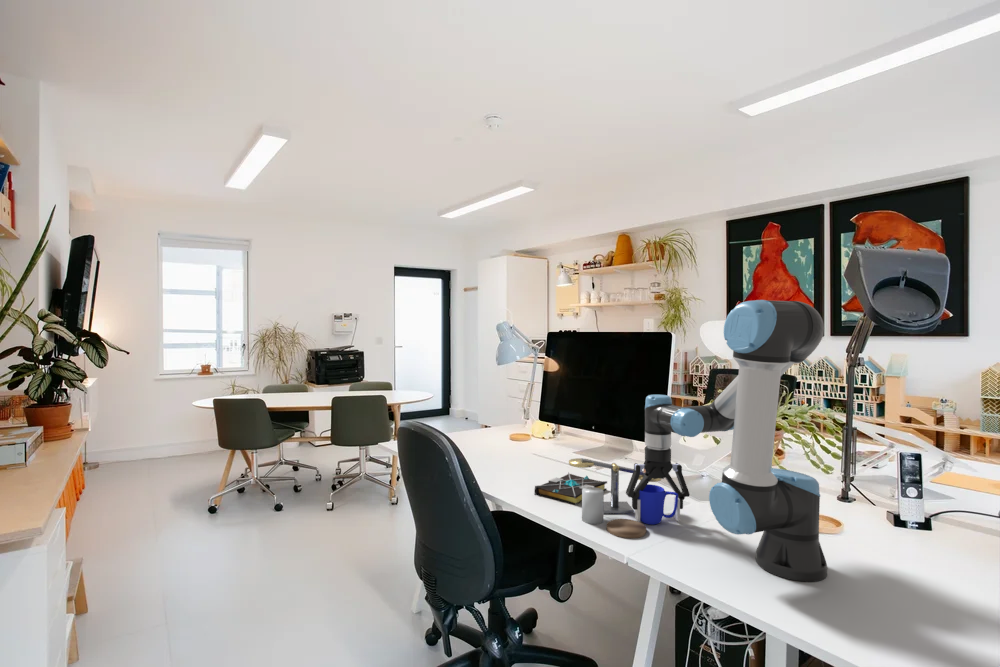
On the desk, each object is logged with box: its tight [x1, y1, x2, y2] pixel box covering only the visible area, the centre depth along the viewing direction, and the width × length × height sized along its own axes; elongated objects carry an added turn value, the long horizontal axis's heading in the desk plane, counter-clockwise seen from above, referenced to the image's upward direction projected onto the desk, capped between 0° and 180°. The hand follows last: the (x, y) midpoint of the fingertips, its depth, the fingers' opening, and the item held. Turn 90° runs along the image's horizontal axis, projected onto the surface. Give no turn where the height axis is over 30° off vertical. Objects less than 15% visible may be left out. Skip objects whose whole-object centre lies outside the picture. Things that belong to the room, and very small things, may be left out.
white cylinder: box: [581, 487, 605, 525], centre depth 155 cm, size 6×6×9 cm
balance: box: [568, 457, 662, 515], centre depth 164 cm, size 8×30×16 cm, turn 92°
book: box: [533, 471, 608, 506], centre depth 181 cm, size 22×17×5 cm
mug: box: [638, 483, 678, 526], centre depth 153 cm, size 8×12×10 cm
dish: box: [606, 518, 647, 539], centre depth 147 cm, size 11×11×1 cm
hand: (657, 519), depth 154 cm, fingers closed on mug, 11 cm apart
